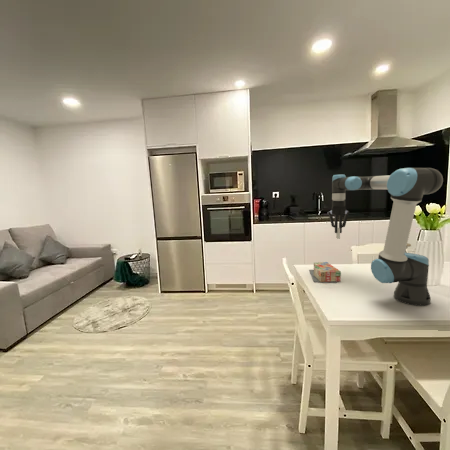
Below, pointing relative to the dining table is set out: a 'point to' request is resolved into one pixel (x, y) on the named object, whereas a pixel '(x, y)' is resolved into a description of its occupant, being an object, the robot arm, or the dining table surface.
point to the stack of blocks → (326, 272)
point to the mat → (317, 279)
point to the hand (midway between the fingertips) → (338, 238)
